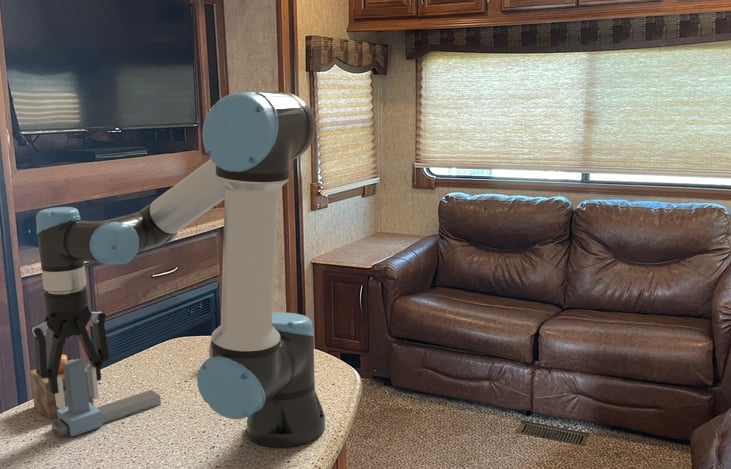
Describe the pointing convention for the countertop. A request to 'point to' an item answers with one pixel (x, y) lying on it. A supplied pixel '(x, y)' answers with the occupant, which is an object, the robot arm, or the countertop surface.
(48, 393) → the wooden box
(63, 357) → the orange rounded cylinder
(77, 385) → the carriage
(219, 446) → the countertop surface
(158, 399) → the rail
